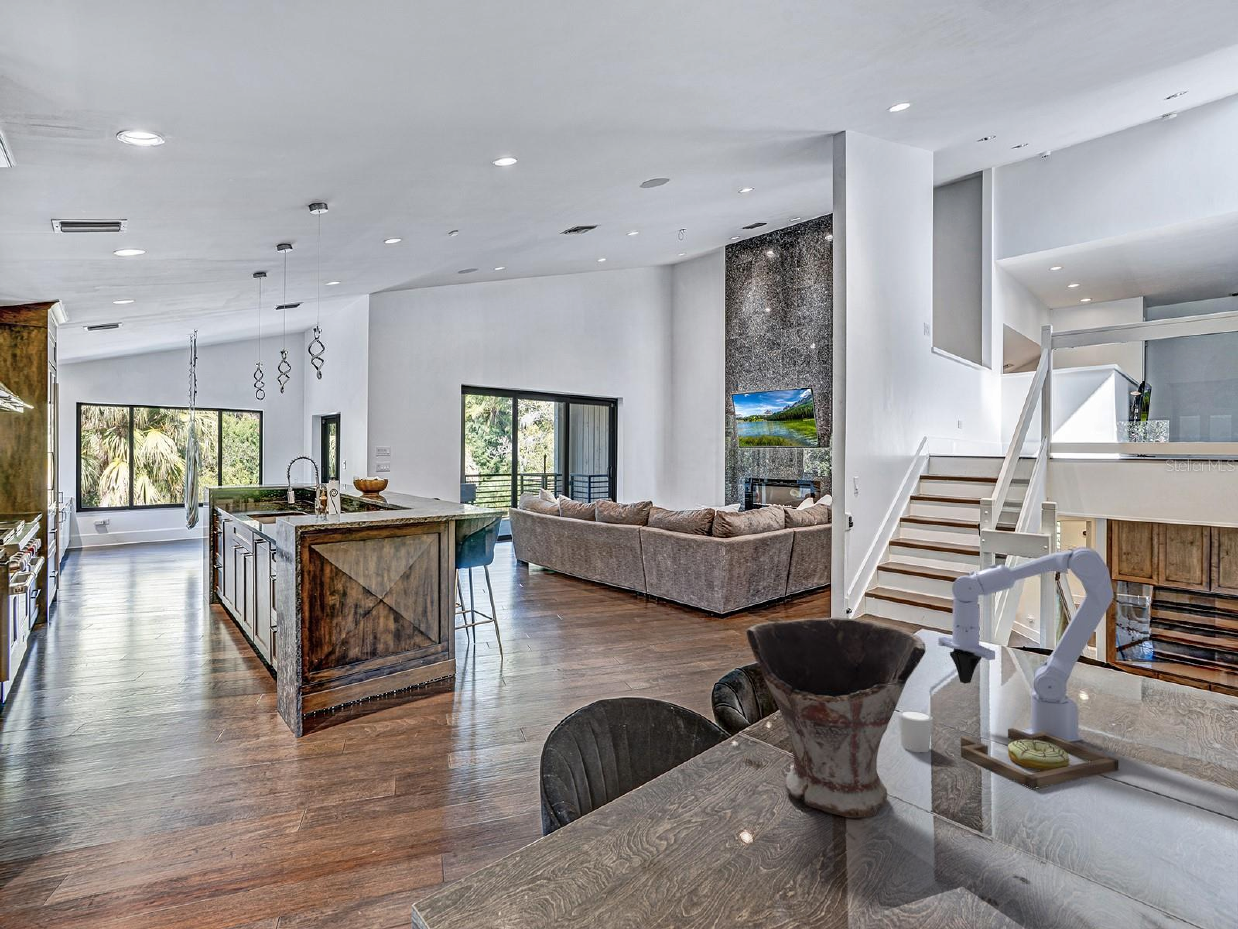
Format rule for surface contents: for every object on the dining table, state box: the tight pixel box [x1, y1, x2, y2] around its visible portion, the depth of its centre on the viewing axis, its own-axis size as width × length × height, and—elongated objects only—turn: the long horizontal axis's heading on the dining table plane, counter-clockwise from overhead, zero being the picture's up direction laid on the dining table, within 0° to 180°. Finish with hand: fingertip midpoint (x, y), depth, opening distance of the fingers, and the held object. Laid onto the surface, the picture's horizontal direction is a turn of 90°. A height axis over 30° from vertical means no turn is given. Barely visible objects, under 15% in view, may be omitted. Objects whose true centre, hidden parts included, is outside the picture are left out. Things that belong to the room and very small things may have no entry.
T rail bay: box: [960, 727, 1120, 790], centre depth 142 cm, size 20×25×2 cm
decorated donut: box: [1007, 739, 1070, 772], centre depth 140 cm, size 10×11×4 cm
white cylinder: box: [898, 709, 934, 754], centre depth 147 cm, size 7×7×7 cm
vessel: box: [746, 617, 926, 819], centre depth 125 cm, size 30×27×30 cm
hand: (965, 682), depth 164 cm, fingers closed
